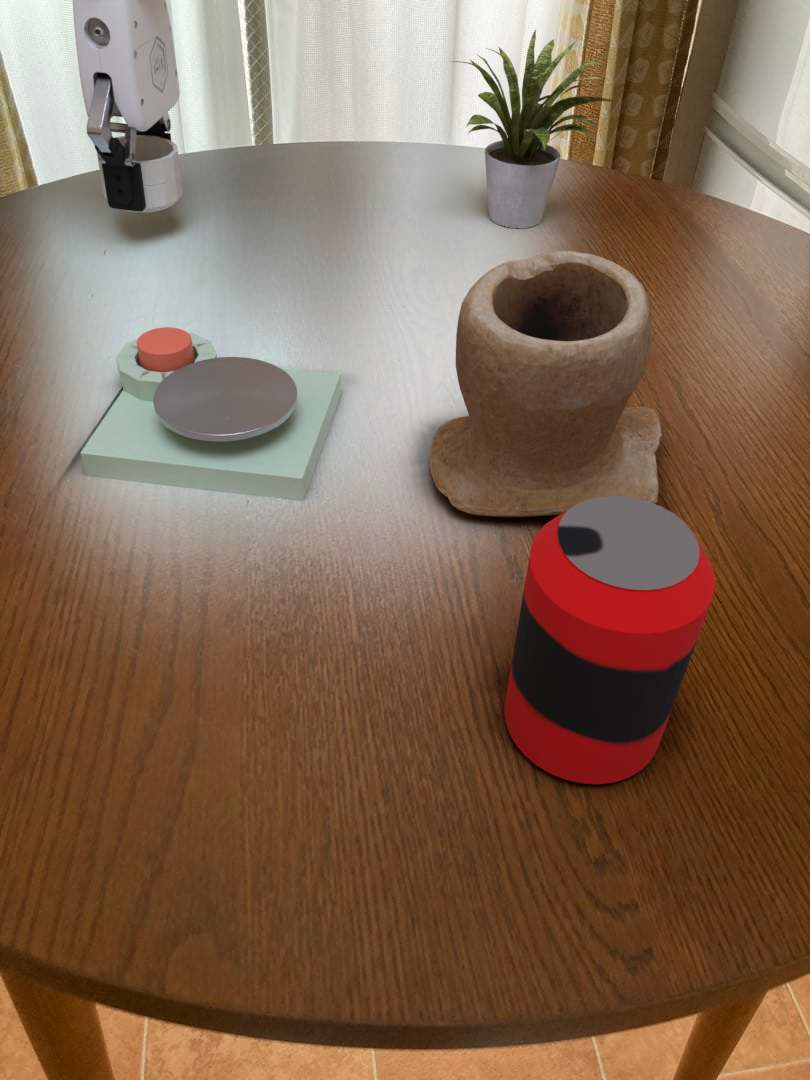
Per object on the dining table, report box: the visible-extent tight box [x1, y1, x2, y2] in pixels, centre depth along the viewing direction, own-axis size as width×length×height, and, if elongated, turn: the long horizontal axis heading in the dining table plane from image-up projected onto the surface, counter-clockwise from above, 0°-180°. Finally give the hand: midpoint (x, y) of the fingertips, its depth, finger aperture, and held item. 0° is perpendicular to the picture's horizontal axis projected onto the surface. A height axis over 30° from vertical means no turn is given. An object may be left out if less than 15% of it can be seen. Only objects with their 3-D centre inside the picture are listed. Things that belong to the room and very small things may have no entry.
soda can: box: [503, 496, 716, 785], centre depth 41 cm, size 8×8×12 cm
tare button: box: [137, 326, 194, 372], centre depth 62 cm, size 4×4×2 cm
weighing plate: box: [153, 356, 297, 441], centre depth 58 cm, size 9×9×1 cm
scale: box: [80, 332, 342, 502], centre depth 61 cm, size 15×13×4 cm
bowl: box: [96, 135, 183, 213], centre depth 82 cm, size 7×7×4 cm
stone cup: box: [428, 250, 663, 518], centre depth 53 cm, size 15×12×15 cm
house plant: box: [448, 27, 618, 229], centre depth 84 cm, size 14×14×16 cm
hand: (142, 190), depth 83 cm, fingers closed on bowl, 6 cm apart
